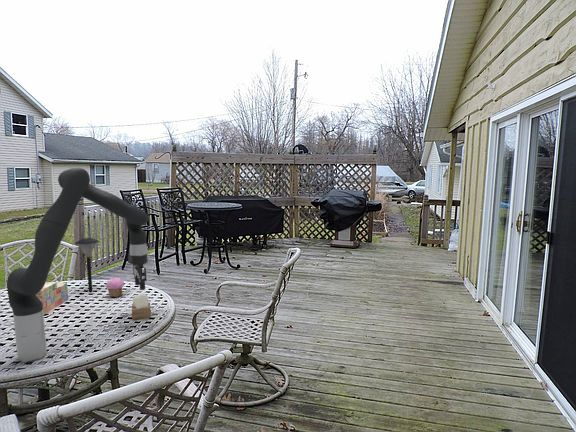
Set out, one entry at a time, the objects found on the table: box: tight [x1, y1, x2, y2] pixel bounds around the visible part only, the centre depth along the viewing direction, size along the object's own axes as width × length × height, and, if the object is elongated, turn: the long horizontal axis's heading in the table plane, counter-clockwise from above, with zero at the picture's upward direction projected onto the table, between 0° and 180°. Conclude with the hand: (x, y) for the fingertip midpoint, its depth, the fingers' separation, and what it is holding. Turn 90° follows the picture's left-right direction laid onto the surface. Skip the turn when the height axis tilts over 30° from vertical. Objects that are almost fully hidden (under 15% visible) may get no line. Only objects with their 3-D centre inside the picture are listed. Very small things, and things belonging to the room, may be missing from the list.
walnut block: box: [131, 301, 152, 321], centre depth 187 cm, size 8×8×5 cm
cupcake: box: [105, 277, 125, 298], centre depth 214 cm, size 9×9×10 cm
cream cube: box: [133, 293, 149, 309], centre depth 186 cm, size 5×5×5 cm
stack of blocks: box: [36, 281, 69, 315], centre depth 199 cm, size 21×6×12 cm, turn 179°
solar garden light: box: [74, 237, 100, 293], centre depth 221 cm, size 12×12×30 cm
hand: (140, 287), depth 185 cm, fingers open, 8 cm apart
